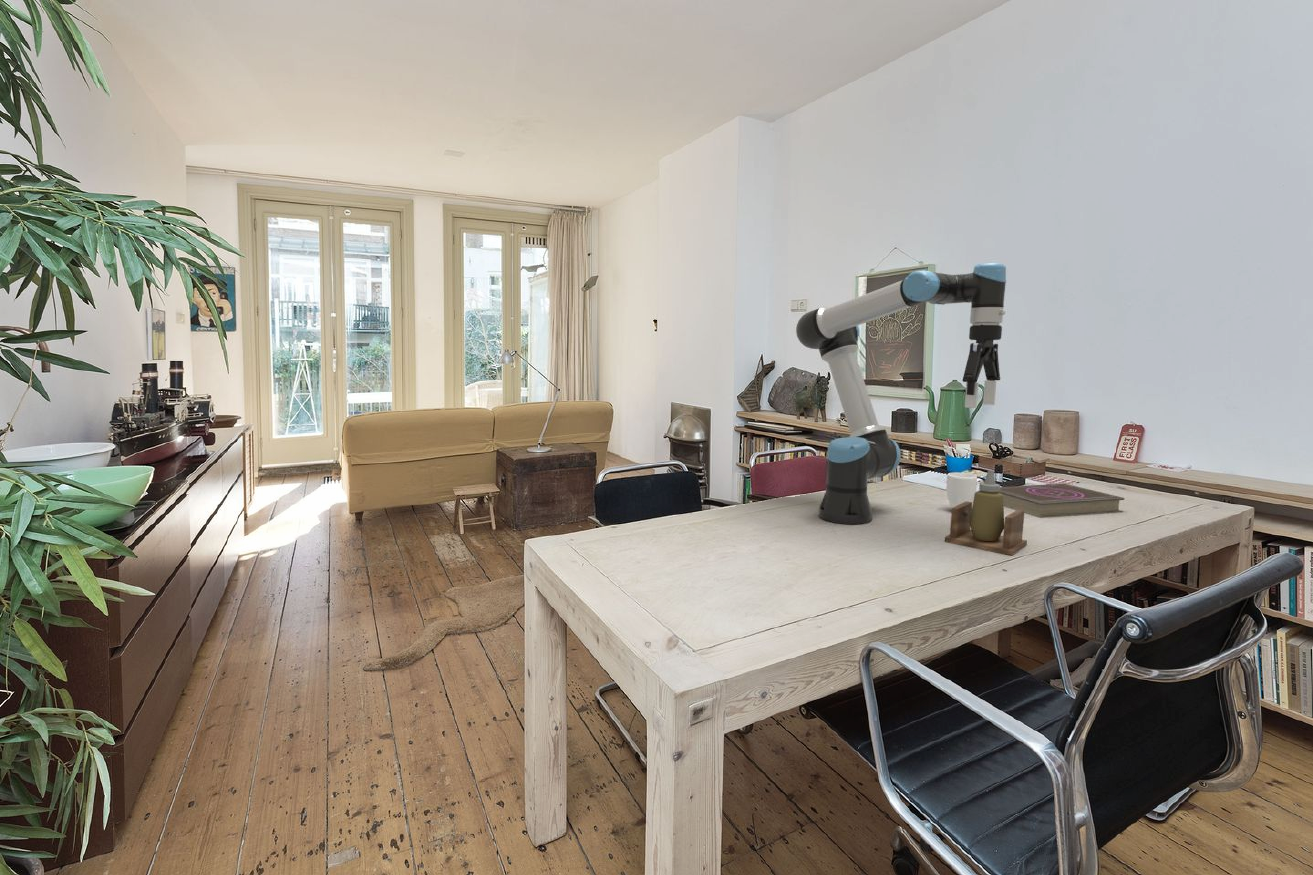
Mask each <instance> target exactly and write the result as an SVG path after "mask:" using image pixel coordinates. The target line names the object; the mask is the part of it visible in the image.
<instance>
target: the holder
mask: <svg viewBox="0 0 1313 875" xmlns="http://www.w3.org/2000/svg"><path fill="white" fill-rule="evenodd" d="M972 506H973V503H972V502H967V501H966V502H964V503H961V504H959V505H957V506H955V507H953V508H952V509H951V514H950V516H951V517H950V529H949V531H950V532H949V534H948V535H946V536H945V537H944V542H945V543H950V544H954V545H959V546H963V547H964V546H965V547H969V548H974V549H979V550H983V551H989V552H993V553H996V554H997V553H998V554H1002V555H1007V556H1013V555H1015V554H1016V553H1018V552H1019V551H1021V550H1022V549H1024V548H1025V547H1026V546H1027V545H1028V540H1027V539H1023V532H1024V521H1025V520H1024V519H1025V513H1024V511H1022V510H1014V511H1013V512H1011V513H1009V514H1008V515H1005V516H1004V529H1003V535H1001V536H1000V538H999V540H997V541H983V540H979V539H976V538H974V537H973V534H972V531H971V527H970V523H969V522H970V516H971V511H972Z"/></svg>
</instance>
